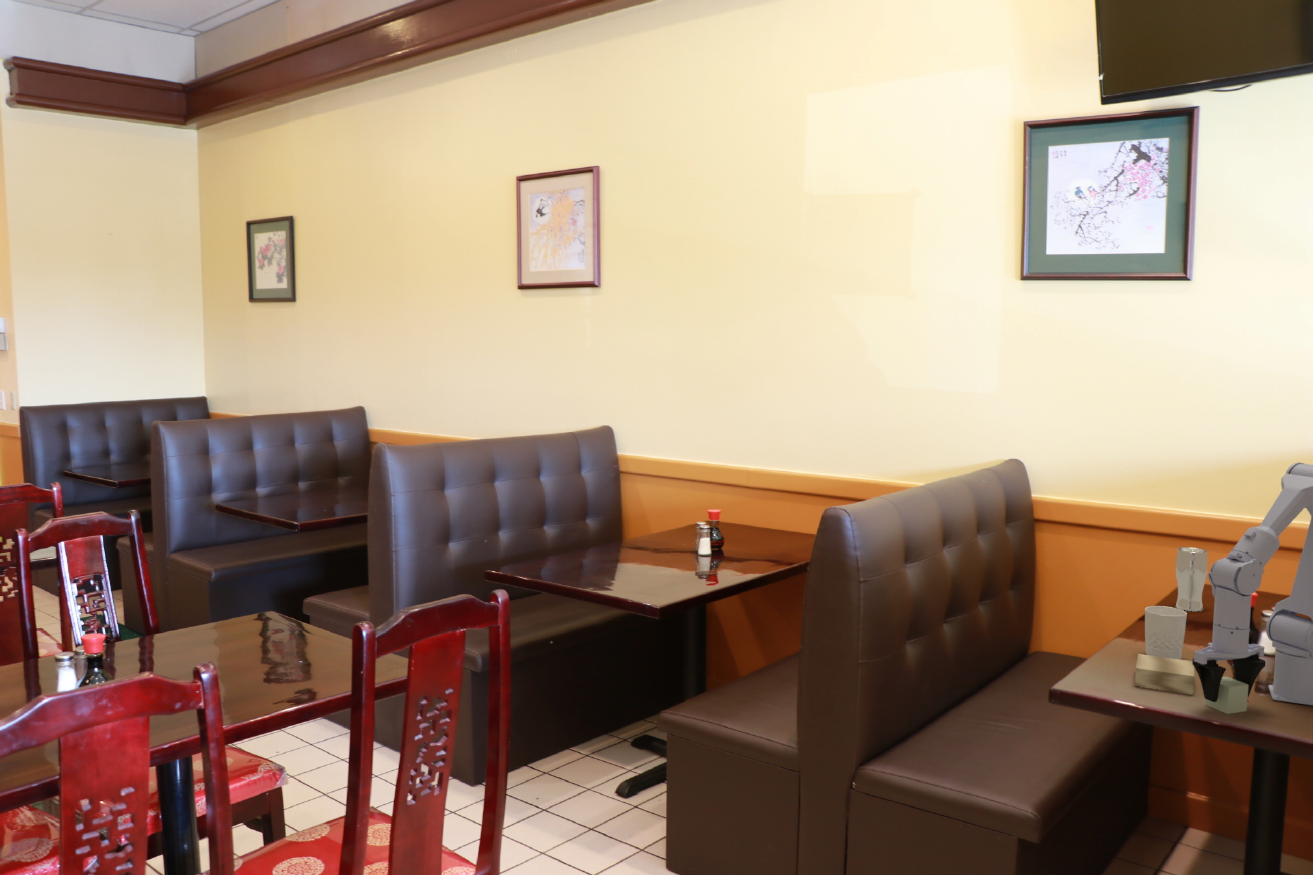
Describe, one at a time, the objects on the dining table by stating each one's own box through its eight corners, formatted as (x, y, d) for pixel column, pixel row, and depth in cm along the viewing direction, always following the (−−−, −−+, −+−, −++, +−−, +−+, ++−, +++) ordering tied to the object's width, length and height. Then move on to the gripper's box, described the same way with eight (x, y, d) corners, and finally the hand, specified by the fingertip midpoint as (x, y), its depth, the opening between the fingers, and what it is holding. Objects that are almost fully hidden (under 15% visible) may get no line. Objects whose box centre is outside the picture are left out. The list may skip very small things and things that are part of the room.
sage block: (1225, 702, 184) (1226, 676, 184) (1246, 711, 180) (1248, 684, 179) (1205, 705, 183) (1207, 678, 182) (1227, 714, 178) (1229, 687, 178)
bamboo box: (1192, 680, 197) (1193, 661, 196) (1193, 696, 188) (1194, 676, 187) (1136, 672, 201) (1138, 653, 201) (1134, 687, 192) (1135, 667, 192)
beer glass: (1176, 610, 246) (1179, 551, 245) (1170, 603, 253) (1174, 546, 252) (1207, 613, 244) (1211, 553, 243) (1201, 606, 251) (1204, 547, 250)
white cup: (1185, 654, 212) (1187, 609, 211) (1183, 664, 205) (1185, 617, 204) (1144, 648, 216) (1146, 603, 215) (1141, 658, 209) (1143, 612, 208)
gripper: (1242, 616, 186) (1237, 686, 187) (1182, 622, 181) (1177, 694, 182) (1276, 626, 179) (1271, 699, 180) (1214, 633, 174) (1210, 707, 176)
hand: (1226, 697), depth 181 cm, fingers open, 7 cm apart
